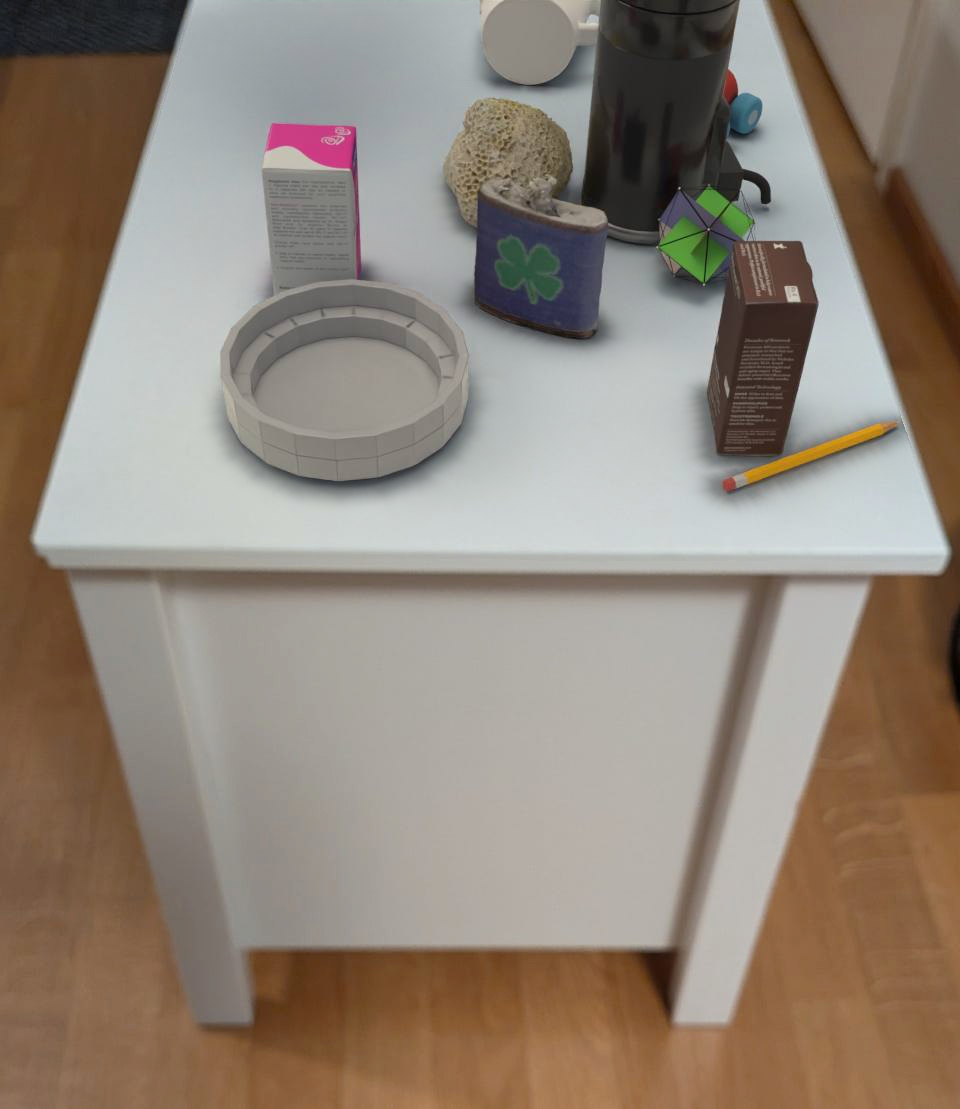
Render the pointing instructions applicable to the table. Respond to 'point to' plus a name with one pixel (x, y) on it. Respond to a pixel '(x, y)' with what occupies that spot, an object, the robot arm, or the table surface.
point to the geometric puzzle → (701, 232)
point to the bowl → (345, 379)
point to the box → (761, 346)
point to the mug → (535, 36)
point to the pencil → (806, 456)
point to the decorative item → (505, 151)
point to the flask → (539, 257)
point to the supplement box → (312, 204)
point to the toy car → (741, 107)
